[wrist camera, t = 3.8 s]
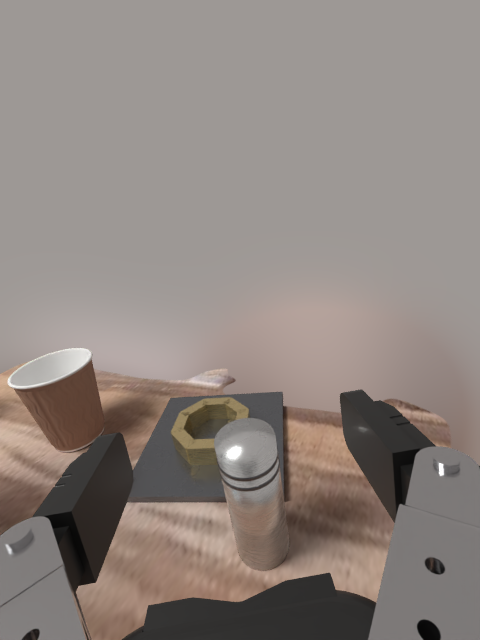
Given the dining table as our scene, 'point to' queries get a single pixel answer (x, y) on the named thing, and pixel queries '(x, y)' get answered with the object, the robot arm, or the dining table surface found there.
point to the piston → (253, 491)
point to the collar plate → (198, 446)
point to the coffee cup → (62, 397)
